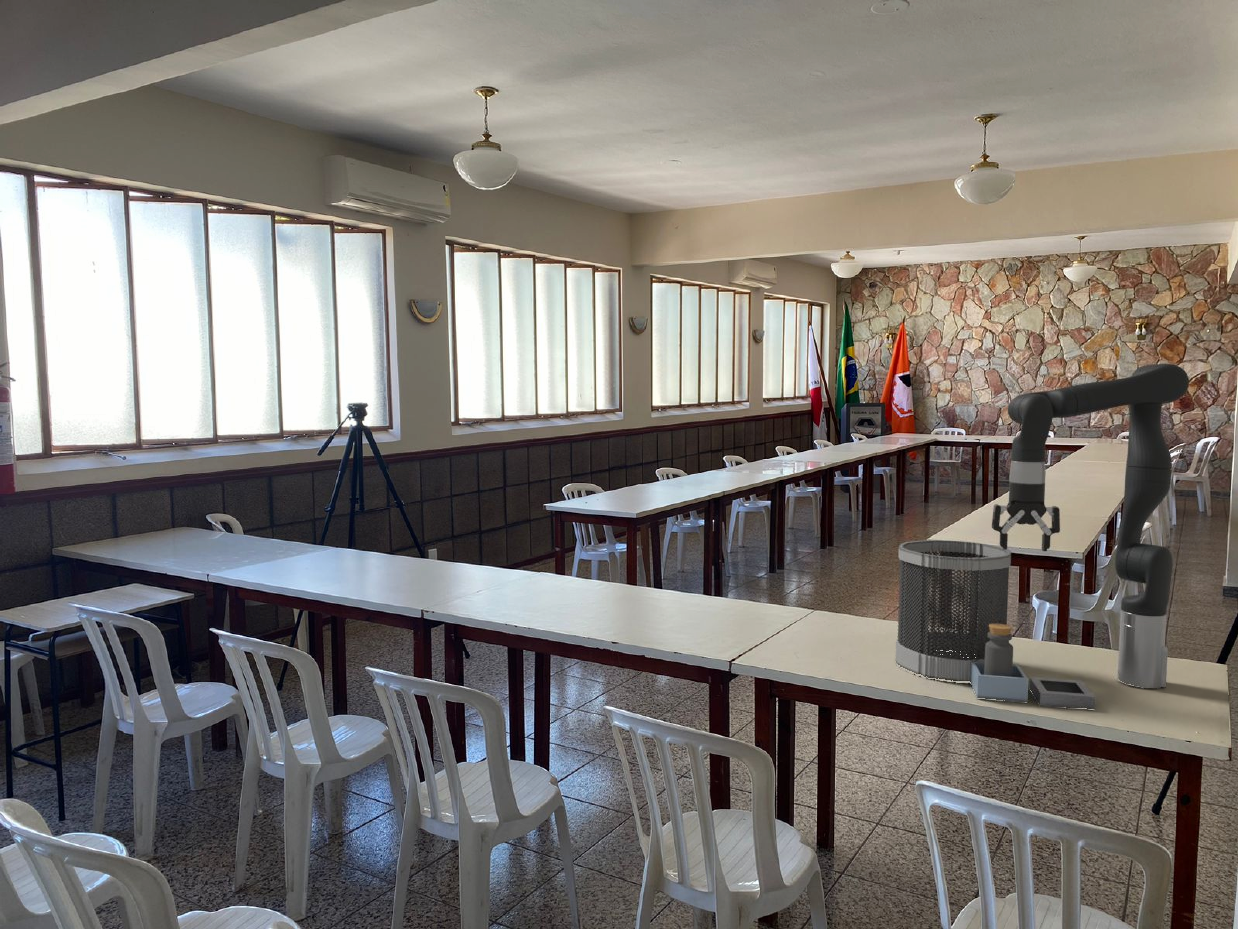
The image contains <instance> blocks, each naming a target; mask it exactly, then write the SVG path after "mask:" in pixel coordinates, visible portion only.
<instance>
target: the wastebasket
mask: <svg viewBox="0 0 1238 929" xmlns="http://www.w3.org/2000/svg"><path fill="white" fill-rule="evenodd" d="M898 559H899V574H898V575H899V577H898V578H899V582H898V583H899V585H898V587H899V589H898V612H897V614H898V618H897V620H898V621H897V624H898V625H897V639H896V641H895V661H896V663H897V664H898V665H900V667H903V668H905V669H907V670H909V671H912V672H914V673H916V674H921V675H923V676H924V677H926V676H927V677H928V678H936V679H938V678H939V679H945V680H951V681H952V680H953V681H970V680H971V662H983V663H985V645H986V643H987V642H988V641H990V638H989V637H988V632H990V629H989V624H994V623H998V624H1005V625H1008V602H1009V601H1008V600H1009V598H1008V597H1009V580H1010V579H1009V577H1010V576H1009V574H1010V573H1009V572H1010V567H1011V563H1012V562H1011V561H1012V551H1011V550H1010V549H1008V548H1007V550H1004V549H1003V548H1002V547H1001V546H996V545H992V544H987V543H981V542H972V541H964V540H963V541H962V540H948V539H947V540H944V539H943V540H942V539H939V540H937V539H933V540H930V539H927V540H926V539H925V540H915V541H906V542H902V543H900V544H899V546H898ZM936 650H937V651H936ZM940 650H943V651H940ZM949 650H952V651H953V652H952V651H949ZM946 651H949V652H946ZM955 651H956V652H955ZM960 651H961V652H960ZM940 654H941V655H940ZM942 654H943V655H942ZM950 654H951V655H950ZM960 654H961V655H960ZM966 654H967V655H966ZM974 654H975V655H974ZM963 657H964V658H963ZM967 657H969V658H967ZM975 657H976V658H975ZM896 663H895V664H896ZM900 667H899V668H900Z"/></svg>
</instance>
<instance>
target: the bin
mask: <svg viewBox="0 0 1238 929" xmlns="http://www.w3.org/2000/svg"><path fill="white" fill-rule="evenodd" d="M984 666H985V663H983V662H971V680H970V682H971V684H972V687H973V689H974V691H975V693H974V695H975V694H976V696H977V698H985V699H996V700H1003V701H1002V702H1004V700H1005V701H1014V702H1013V703H1017V702H1027V703H1028V700H1029V699H1028V696H1029V693H1028V692H1029V678H1028V676H1027V675H1026V673H1025V671H1024V670H1023V669H1022V668H1021V666H1020V665H1019V664H1013V667H1012V677H1006V676H992V675H984ZM972 687H971V688H972ZM973 689H972V690H973ZM974 691H973V692H974ZM976 696H975V697H976ZM977 698H976V699H977Z"/></svg>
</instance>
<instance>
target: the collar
mask: <svg viewBox="0 0 1238 929" xmlns="http://www.w3.org/2000/svg"><path fill="white" fill-rule="evenodd" d="M1029 688H1030V690H1031V691H1032V693H1033V695H1034V696H1033V695H1032V696H1033V698H1034V697H1035V698H1036V699H1035V698H1034V699H1035V701H1036V700H1037V701H1036V702H1038V703H1039V704H1038V703H1037V704H1038V705H1040V706H1039V707H1043V706H1047V707H1046V708H1056V707H1066V708H1065V709H1068V708H1087V709H1095V710H1096V700H1097V697H1096V696H1095V695H1094V693H1093V692H1092V691H1091V690H1090V689H1089V688H1088V686H1087V685H1086V684H1085V683H1084V682H1083V681H1082V680H1074V679H1059V678H1058V679H1057V678H1046V677H1032V676H1029V682H1028V689H1029ZM1030 690H1029V691H1030ZM1032 693H1031V694H1032ZM1049 706H1050V707H1049Z"/></svg>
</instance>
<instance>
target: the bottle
mask: <svg viewBox="0 0 1238 929" xmlns="http://www.w3.org/2000/svg"><path fill="white" fill-rule="evenodd" d="M989 629H990V632H988V637H989V638H990V641H988V642H987V643H986V645H985V666H984V675H992V676H1006V677H1012V667H1013V665H1014V646H1013V645H1012V643H1010V641H1011V640H1013V639H1012V638H1013V635H1012V634H1011V631H1012V626H1011V625H1008V624H1007V625H1005V624H998V623H994V624H989Z"/></svg>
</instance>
